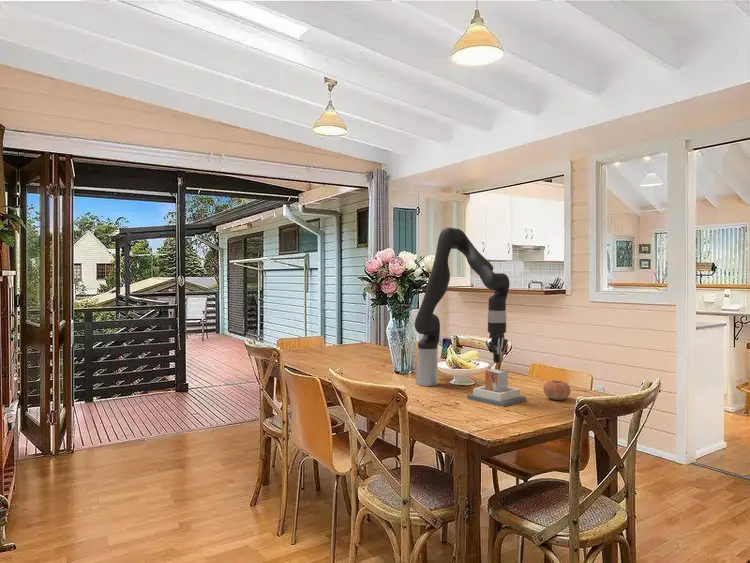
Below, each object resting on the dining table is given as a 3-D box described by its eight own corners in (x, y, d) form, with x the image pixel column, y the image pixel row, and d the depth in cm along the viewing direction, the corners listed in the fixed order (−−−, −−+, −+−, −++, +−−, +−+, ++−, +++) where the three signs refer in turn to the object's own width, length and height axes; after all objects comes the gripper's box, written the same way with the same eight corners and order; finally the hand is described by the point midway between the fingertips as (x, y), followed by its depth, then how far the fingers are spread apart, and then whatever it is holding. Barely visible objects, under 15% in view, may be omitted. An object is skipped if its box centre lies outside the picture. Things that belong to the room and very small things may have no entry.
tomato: (548, 402, 213) (548, 382, 213) (539, 396, 224) (540, 377, 224) (574, 402, 213) (574, 383, 213) (565, 396, 224) (565, 377, 224)
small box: (484, 394, 220) (484, 369, 220) (495, 393, 222) (495, 368, 222) (497, 398, 213) (497, 372, 213) (508, 397, 215) (508, 371, 215)
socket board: (467, 398, 219) (467, 387, 219) (490, 392, 230) (490, 382, 229) (503, 406, 205) (503, 395, 205) (526, 400, 216) (526, 389, 216)
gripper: (498, 319, 224) (498, 360, 224) (479, 321, 215) (479, 363, 216) (513, 320, 219) (513, 362, 219) (495, 322, 210) (494, 365, 210)
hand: (496, 362), depth 217 cm, fingers closed
